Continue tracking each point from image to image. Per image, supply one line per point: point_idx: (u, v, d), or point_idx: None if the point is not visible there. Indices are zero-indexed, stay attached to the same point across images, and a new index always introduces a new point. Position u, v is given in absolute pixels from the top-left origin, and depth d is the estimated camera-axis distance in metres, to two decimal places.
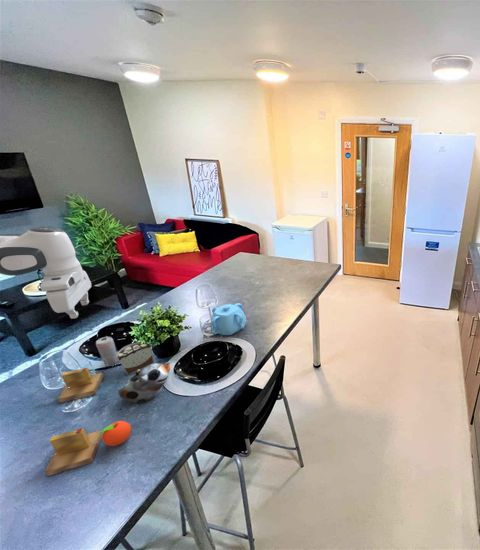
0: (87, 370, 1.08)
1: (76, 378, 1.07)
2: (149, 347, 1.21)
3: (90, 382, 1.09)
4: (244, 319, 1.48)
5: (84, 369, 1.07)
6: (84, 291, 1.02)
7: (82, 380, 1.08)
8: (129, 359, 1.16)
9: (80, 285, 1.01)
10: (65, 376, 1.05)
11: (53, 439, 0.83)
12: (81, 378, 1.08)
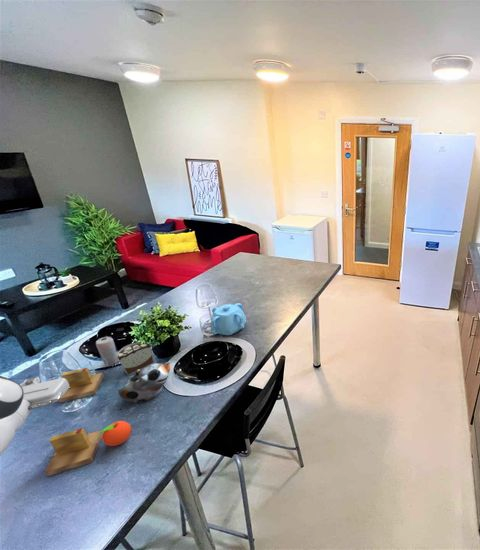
0: (87, 370, 1.08)
1: (76, 378, 1.07)
2: (149, 347, 1.21)
3: (90, 382, 1.09)
4: (244, 319, 1.48)
5: (84, 369, 1.07)
6: None
7: (82, 380, 1.08)
8: (129, 359, 1.16)
9: None
10: (65, 376, 1.05)
11: (53, 439, 0.83)
12: (81, 378, 1.08)
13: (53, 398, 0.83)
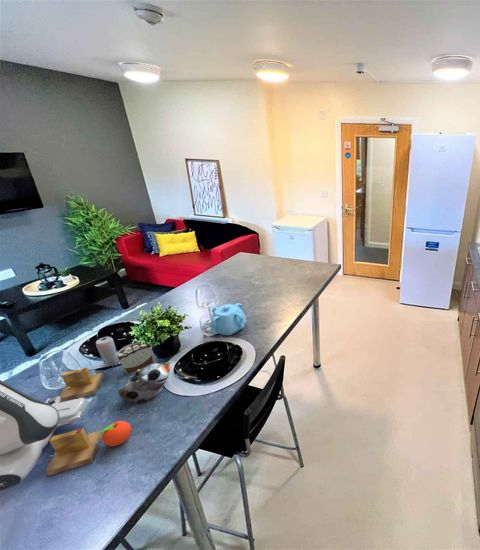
0: (87, 370, 1.08)
1: (76, 378, 1.07)
2: (149, 347, 1.21)
3: (90, 382, 1.09)
4: (244, 319, 1.48)
5: (84, 369, 1.07)
6: None
7: (82, 380, 1.08)
8: (129, 359, 1.16)
9: None
10: (65, 376, 1.05)
11: (53, 439, 0.83)
12: (81, 378, 1.08)
13: (74, 417, 0.92)
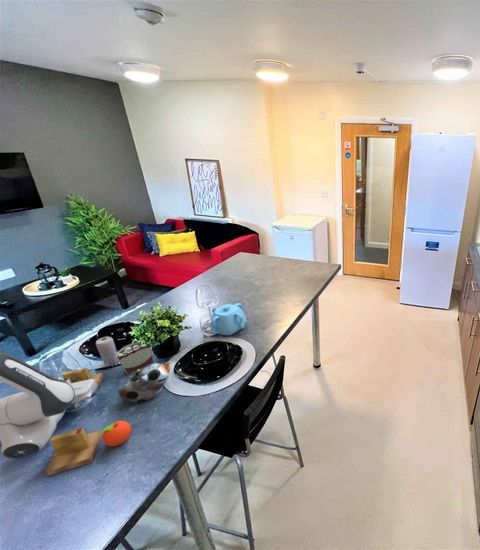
0: (87, 371, 1.08)
1: (76, 378, 1.07)
2: (149, 347, 1.21)
3: None
4: (244, 319, 1.48)
5: (84, 370, 1.07)
6: None
7: (82, 380, 1.08)
8: (129, 359, 1.16)
9: None
10: (65, 375, 1.05)
11: (53, 439, 0.83)
12: (81, 378, 1.07)
13: (85, 396, 0.99)
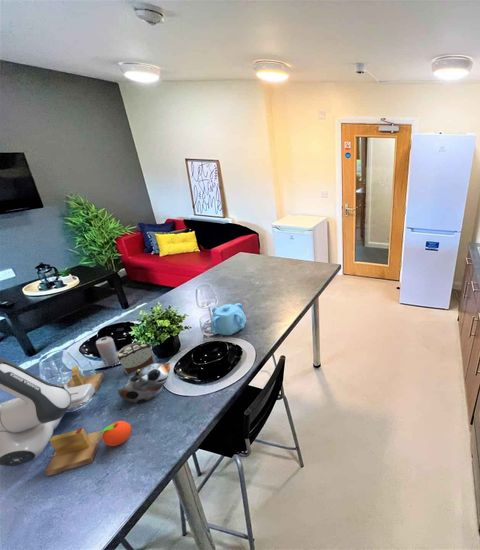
0: (75, 378, 1.04)
1: None
2: (149, 347, 1.21)
3: None
4: (244, 319, 1.48)
5: (73, 375, 1.04)
6: None
7: None
8: (129, 359, 1.16)
9: None
10: (72, 370, 1.08)
11: (53, 439, 0.83)
12: None
13: (83, 401, 0.97)
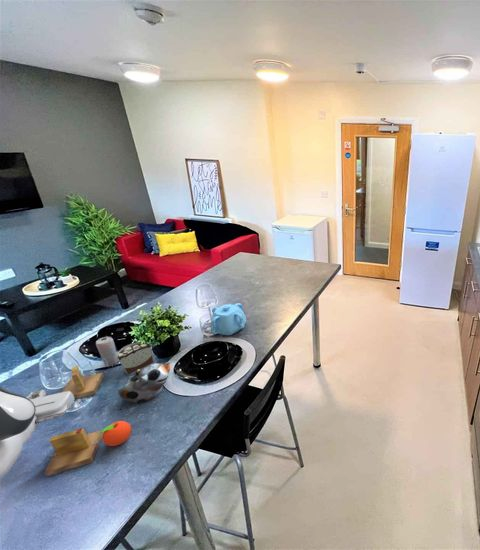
0: (75, 378, 1.04)
1: None
2: (149, 347, 1.21)
3: None
4: (244, 319, 1.48)
5: (73, 375, 1.04)
6: None
7: None
8: (129, 359, 1.16)
9: None
10: (72, 370, 1.08)
11: (53, 439, 0.83)
12: None
13: (59, 412, 0.85)
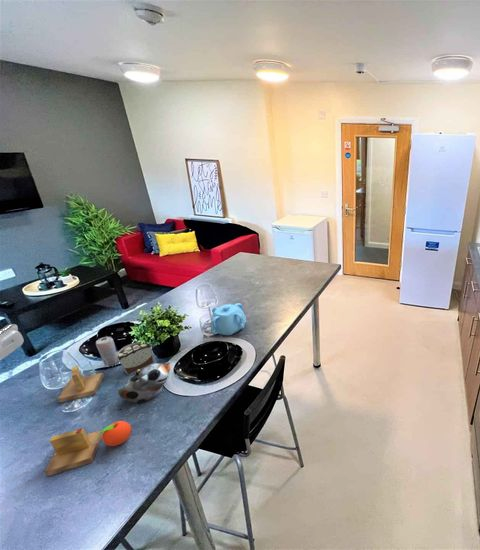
0: (75, 378, 1.04)
1: None
2: (149, 347, 1.21)
3: None
4: (244, 319, 1.48)
5: (73, 375, 1.04)
6: (0, 358, 0.84)
7: None
8: (129, 359, 1.16)
9: None
10: (72, 370, 1.08)
11: (53, 439, 0.83)
12: None
13: None
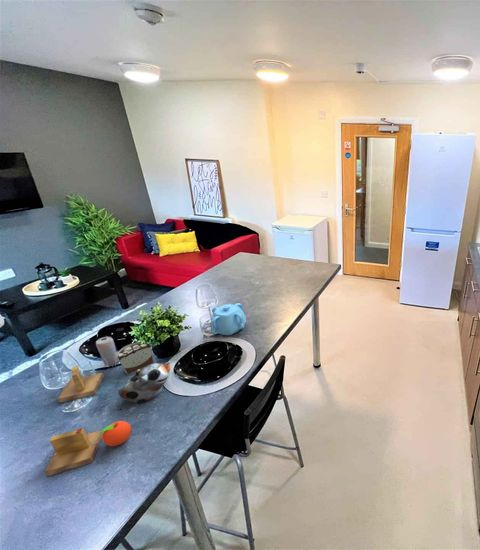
0: (75, 378, 1.04)
1: None
2: (149, 347, 1.21)
3: None
4: (244, 319, 1.48)
5: (73, 375, 1.04)
6: None
7: None
8: (129, 359, 1.16)
9: None
10: (72, 370, 1.08)
11: (53, 439, 0.83)
12: None
13: None
